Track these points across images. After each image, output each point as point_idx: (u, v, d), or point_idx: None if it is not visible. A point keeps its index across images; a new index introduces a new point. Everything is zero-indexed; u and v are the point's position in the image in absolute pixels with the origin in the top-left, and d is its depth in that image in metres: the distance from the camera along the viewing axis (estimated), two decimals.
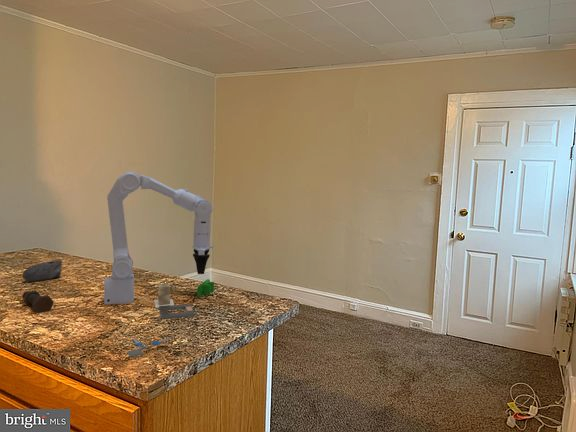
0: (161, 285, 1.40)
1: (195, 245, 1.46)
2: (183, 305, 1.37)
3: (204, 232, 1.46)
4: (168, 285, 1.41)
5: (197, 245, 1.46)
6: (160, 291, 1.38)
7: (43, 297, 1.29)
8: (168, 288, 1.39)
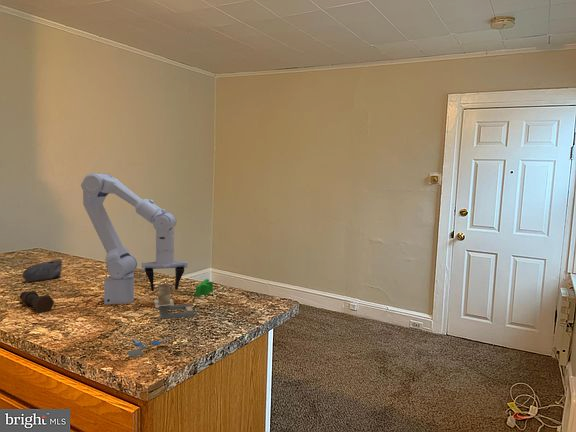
0: (161, 285, 1.40)
1: None
2: (183, 305, 1.37)
3: (163, 248, 1.36)
4: (168, 285, 1.41)
5: None
6: (160, 291, 1.38)
7: (44, 297, 1.29)
8: (168, 288, 1.39)
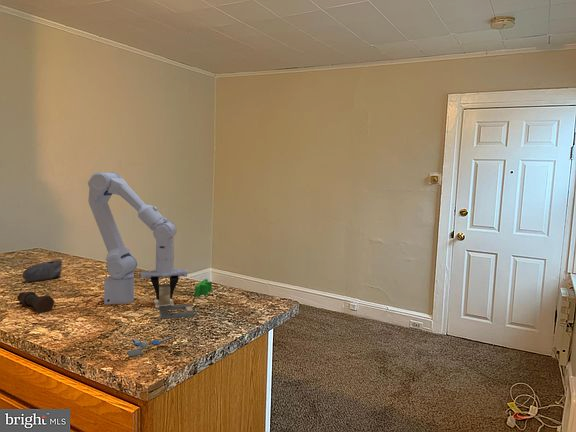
0: (161, 285, 1.40)
1: None
2: (183, 305, 1.37)
3: (163, 257, 1.36)
4: (168, 285, 1.41)
5: None
6: (160, 291, 1.38)
7: (44, 297, 1.29)
8: (168, 288, 1.39)
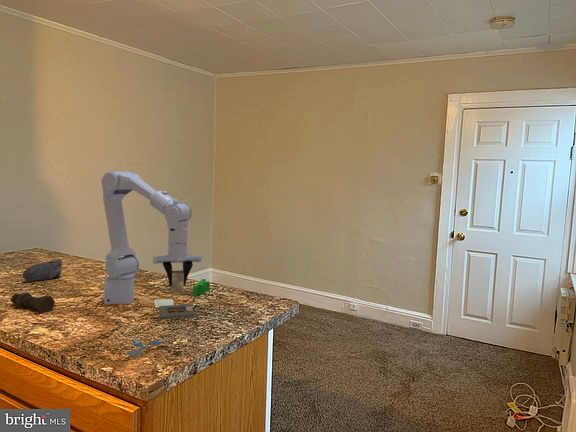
0: (174, 271, 1.32)
1: None
2: (183, 305, 1.37)
3: (173, 241, 1.28)
4: (181, 271, 1.32)
5: None
6: (173, 277, 1.30)
7: (46, 297, 1.29)
8: (181, 274, 1.31)
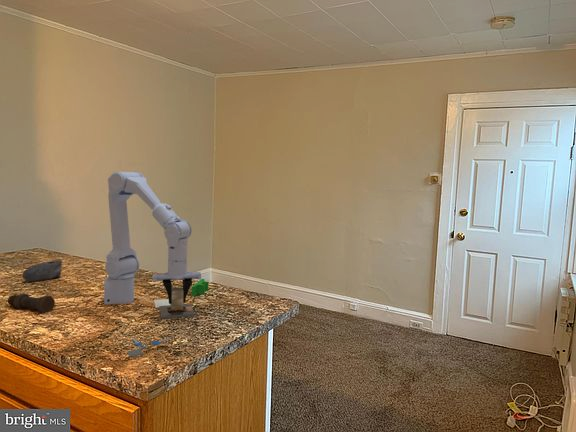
0: (174, 288, 1.32)
1: None
2: (183, 305, 1.37)
3: (173, 259, 1.28)
4: (181, 288, 1.33)
5: None
6: (173, 295, 1.30)
7: (47, 297, 1.29)
8: (181, 292, 1.31)
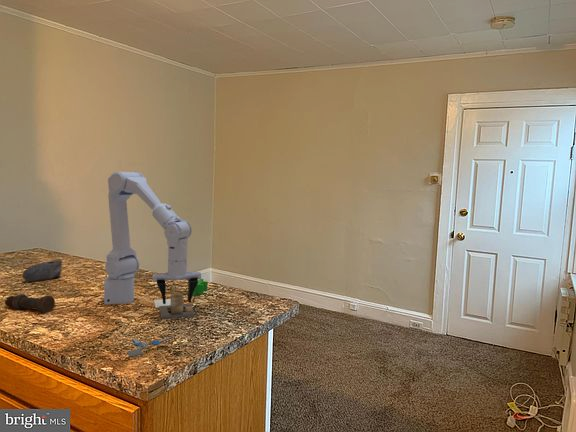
0: (173, 295, 1.32)
1: None
2: (183, 305, 1.37)
3: (173, 259, 1.28)
4: (181, 295, 1.33)
5: None
6: (173, 302, 1.30)
7: (47, 297, 1.29)
8: (181, 299, 1.31)
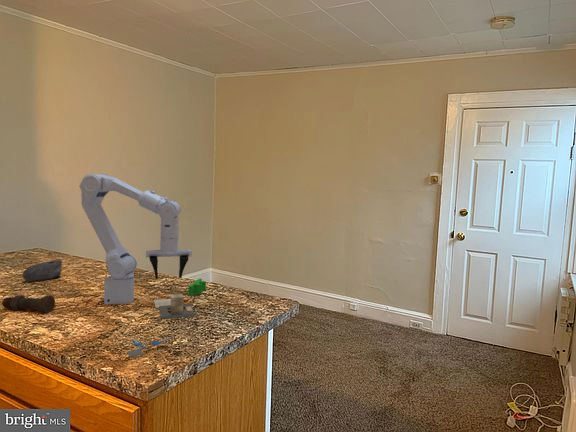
0: (174, 295, 1.32)
1: None
2: (183, 305, 1.37)
3: (168, 236, 1.36)
4: (181, 295, 1.33)
5: None
6: (173, 302, 1.30)
7: (48, 297, 1.30)
8: (181, 299, 1.31)
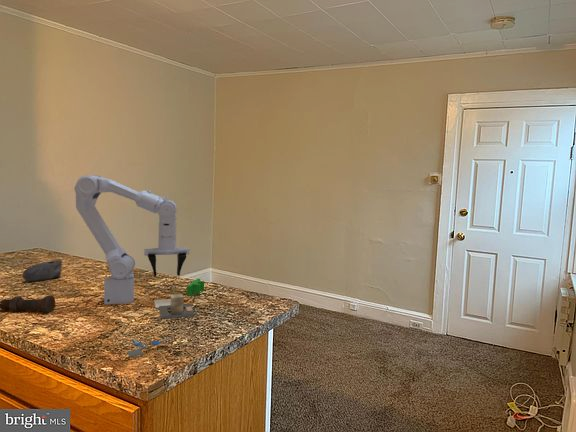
0: (173, 295, 1.32)
1: None
2: (183, 305, 1.37)
3: (167, 235, 1.39)
4: (181, 295, 1.33)
5: None
6: (173, 302, 1.30)
7: (50, 297, 1.30)
8: (181, 299, 1.31)
